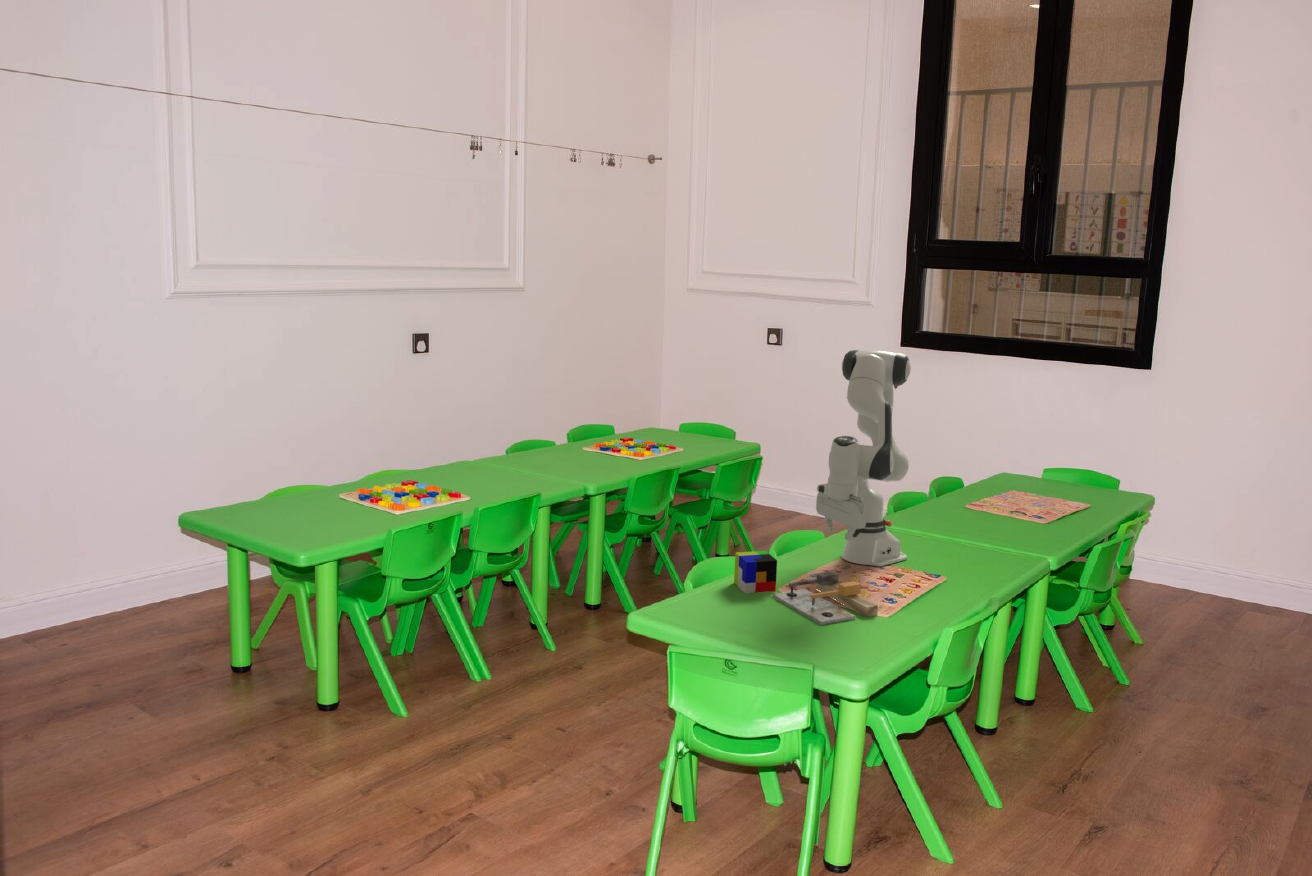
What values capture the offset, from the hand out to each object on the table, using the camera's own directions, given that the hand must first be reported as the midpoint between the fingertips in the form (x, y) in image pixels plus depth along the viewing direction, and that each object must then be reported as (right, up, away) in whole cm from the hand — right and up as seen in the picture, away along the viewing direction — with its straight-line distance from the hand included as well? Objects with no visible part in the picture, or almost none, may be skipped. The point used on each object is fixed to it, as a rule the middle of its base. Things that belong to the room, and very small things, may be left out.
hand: (839, 535), depth 314 cm
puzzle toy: (-24, -17, +11) cm, 32 cm away
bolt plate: (-9, -21, -6) cm, 23 cm away
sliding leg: (-2, -19, -5) cm, 20 cm away
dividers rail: (-3, -20, -3) cm, 21 cm away
